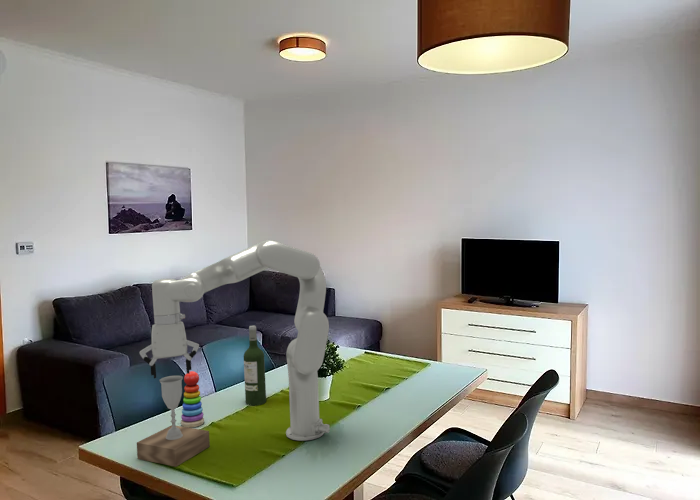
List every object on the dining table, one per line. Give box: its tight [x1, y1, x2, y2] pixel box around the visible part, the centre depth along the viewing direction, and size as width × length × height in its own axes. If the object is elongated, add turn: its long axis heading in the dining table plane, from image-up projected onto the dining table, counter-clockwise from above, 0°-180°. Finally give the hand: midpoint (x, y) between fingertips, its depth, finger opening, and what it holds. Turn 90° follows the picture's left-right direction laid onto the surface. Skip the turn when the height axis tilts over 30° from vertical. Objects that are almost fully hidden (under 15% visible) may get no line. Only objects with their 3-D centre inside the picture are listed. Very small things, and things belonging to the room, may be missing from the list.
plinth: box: [136, 424, 211, 468], centre depth 168 cm, size 15×15×5 cm
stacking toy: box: [180, 370, 205, 428], centre depth 192 cm, size 8×8×19 cm
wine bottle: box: [243, 325, 267, 407], centre depth 212 cm, size 8×8×30 cm
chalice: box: [159, 375, 184, 440], centre depth 168 cm, size 7×7×18 cm
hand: (171, 374), depth 167 cm, fingers open, 9 cm apart
